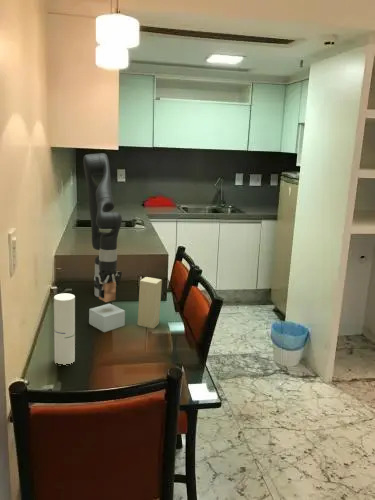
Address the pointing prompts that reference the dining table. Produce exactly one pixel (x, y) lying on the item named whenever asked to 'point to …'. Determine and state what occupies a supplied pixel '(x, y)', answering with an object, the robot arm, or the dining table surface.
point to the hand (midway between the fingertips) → (107, 296)
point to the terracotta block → (109, 291)
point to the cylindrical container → (64, 328)
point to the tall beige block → (149, 302)
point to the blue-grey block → (106, 317)
